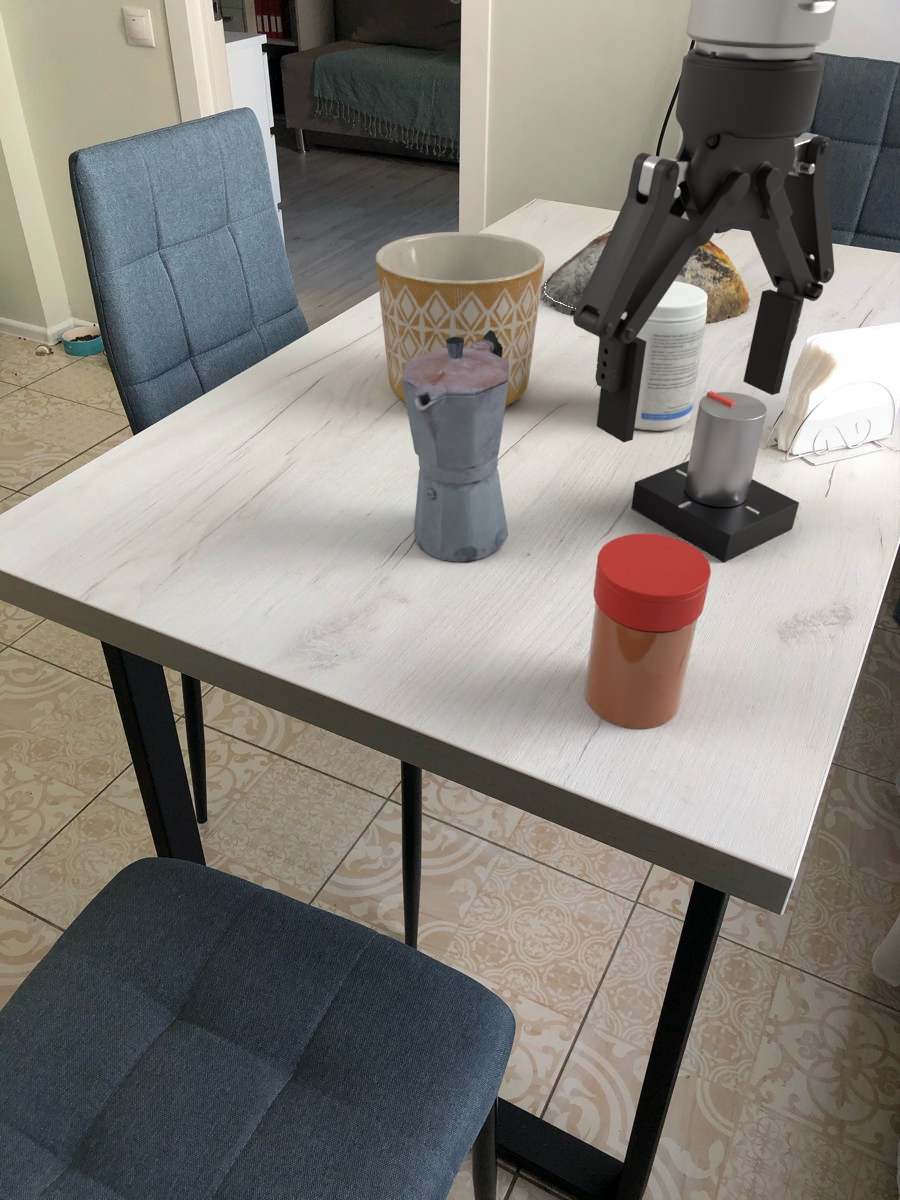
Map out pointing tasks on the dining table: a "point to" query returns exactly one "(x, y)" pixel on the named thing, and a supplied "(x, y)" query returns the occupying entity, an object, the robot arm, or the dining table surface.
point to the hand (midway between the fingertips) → (691, 409)
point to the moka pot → (458, 447)
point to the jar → (636, 672)
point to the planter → (459, 298)
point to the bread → (701, 270)
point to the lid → (651, 582)
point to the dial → (724, 448)
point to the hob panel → (714, 514)
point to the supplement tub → (671, 358)
